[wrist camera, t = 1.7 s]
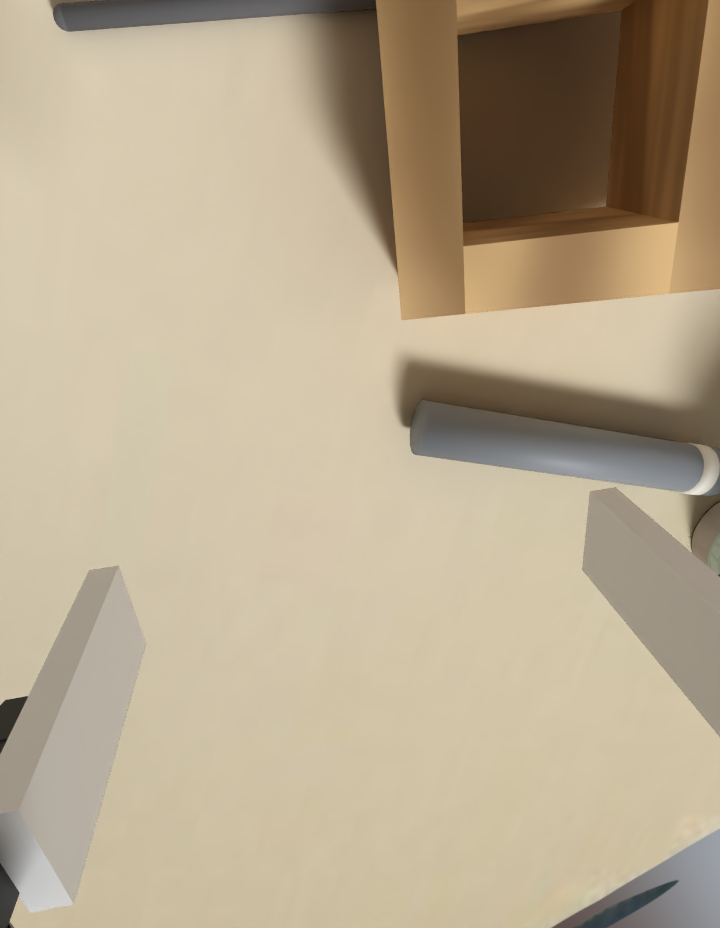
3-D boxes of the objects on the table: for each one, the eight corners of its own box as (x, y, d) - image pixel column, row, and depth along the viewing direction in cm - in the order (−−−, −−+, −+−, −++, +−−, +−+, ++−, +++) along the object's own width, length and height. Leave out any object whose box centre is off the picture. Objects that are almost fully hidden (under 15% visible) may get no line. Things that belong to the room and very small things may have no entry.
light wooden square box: (401, 281, 27) (401, 320, 21) (377, -26, 22) (367, -107, 15) (653, 255, 26) (739, 286, 19) (693, -79, 21) (830, -192, 14)
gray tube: (412, 467, 29) (703, 506, 33) (432, 430, 27) (741, 477, 31) (407, 425, 31) (683, 467, 35) (425, 387, 29) (718, 436, 33)
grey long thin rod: (61, 34, 21) (54, 29, 20) (54, 7, 21) (46, 1, 20) (493, 2, 23) (501, -4, 22) (493, -24, 22) (501, -31, 22)
